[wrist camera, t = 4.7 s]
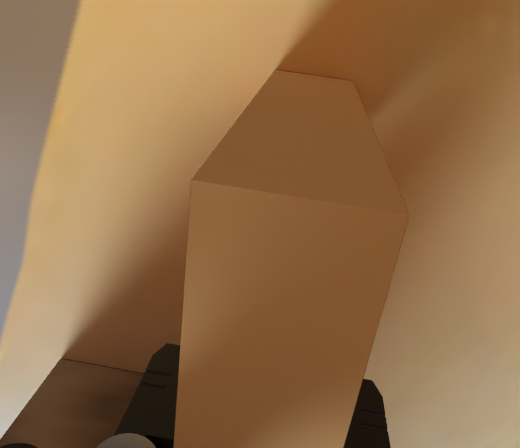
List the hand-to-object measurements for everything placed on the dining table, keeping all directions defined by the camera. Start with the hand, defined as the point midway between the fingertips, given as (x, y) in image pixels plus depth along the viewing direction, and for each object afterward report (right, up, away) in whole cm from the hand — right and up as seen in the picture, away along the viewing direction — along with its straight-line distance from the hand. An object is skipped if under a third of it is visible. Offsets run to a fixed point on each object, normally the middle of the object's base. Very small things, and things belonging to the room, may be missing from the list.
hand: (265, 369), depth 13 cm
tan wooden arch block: (+1, +4, +8) cm, 9 cm away
